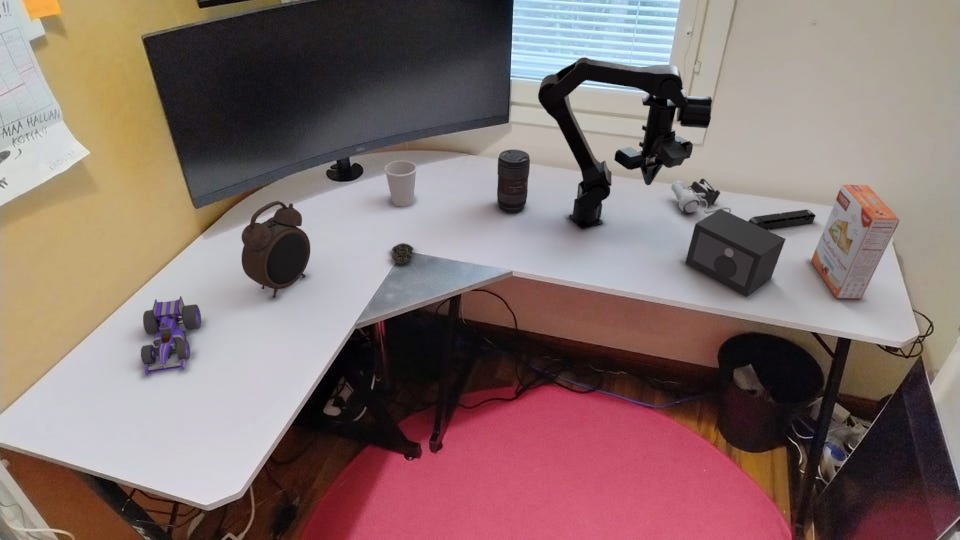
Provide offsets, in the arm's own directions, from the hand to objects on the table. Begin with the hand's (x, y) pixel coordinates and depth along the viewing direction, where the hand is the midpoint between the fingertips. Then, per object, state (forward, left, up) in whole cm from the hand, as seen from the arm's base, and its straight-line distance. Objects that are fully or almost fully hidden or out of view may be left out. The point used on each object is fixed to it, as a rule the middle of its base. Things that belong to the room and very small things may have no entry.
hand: (647, 184), depth 149 cm
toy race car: (-110, +4, -12) cm, 111 cm away
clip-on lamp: (+19, -1, -12) cm, 23 cm away
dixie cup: (-50, +37, -12) cm, 63 cm away
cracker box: (+26, -37, -12) cm, 47 cm away
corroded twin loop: (-59, +13, -12) cm, 62 cm away
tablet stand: (+33, -15, -12) cm, 38 cm away
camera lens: (-25, +22, -12) cm, 35 cm away
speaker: (+6, -24, -12) cm, 28 cm away
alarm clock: (-86, +14, -12) cm, 88 cm away
